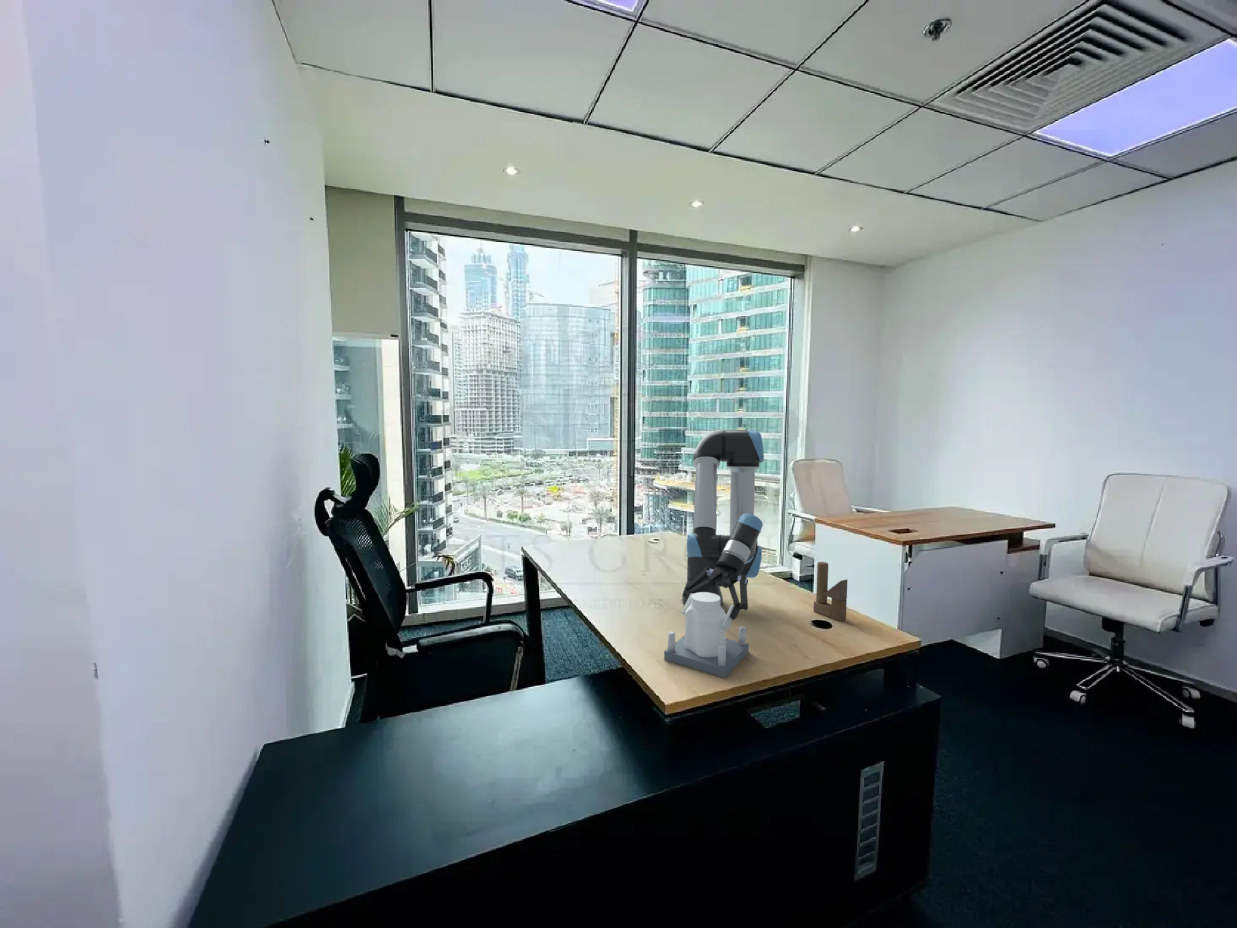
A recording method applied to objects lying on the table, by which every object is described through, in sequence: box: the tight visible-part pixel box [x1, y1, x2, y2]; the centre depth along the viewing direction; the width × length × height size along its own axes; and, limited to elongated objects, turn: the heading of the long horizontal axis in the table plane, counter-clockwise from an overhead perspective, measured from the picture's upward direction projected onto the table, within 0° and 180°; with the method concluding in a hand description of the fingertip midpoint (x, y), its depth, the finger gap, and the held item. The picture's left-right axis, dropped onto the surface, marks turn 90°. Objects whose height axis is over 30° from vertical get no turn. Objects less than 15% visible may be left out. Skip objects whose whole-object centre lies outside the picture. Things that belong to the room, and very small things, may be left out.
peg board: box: [663, 626, 750, 679], centre depth 140 cm, size 18×18×8 cm
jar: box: [684, 592, 727, 658], centre depth 139 cm, size 12×10×15 cm
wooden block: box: [813, 561, 848, 622], centre depth 171 cm, size 4×11×18 cm, turn 29°
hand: (703, 621), depth 138 cm, fingers open, 13 cm apart
